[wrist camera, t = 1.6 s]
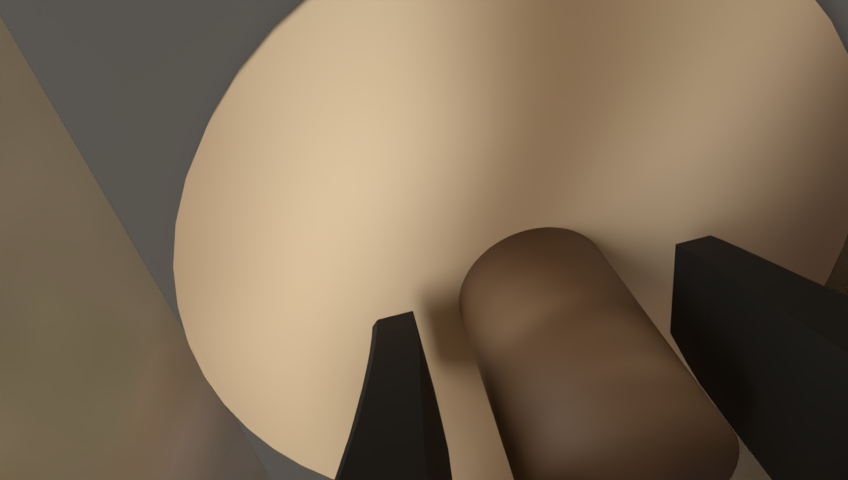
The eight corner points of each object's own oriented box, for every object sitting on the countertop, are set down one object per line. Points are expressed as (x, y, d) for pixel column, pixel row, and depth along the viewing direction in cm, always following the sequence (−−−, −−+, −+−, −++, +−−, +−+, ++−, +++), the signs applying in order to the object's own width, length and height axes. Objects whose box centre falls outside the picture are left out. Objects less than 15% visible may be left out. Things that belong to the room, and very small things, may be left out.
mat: (914, -222, 8) (940, -227, 8) (776, 391, 15) (787, 402, 15) (4, -7, 8) (-10, -1, 7) (300, 515, 15) (300, 529, 15)
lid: (912, -195, 8) (1512, -261, 4) (776, 397, 15) (946, 592, 11) (27, 16, 8) (-289, 174, 4) (308, 519, 15) (303, 764, 11)
